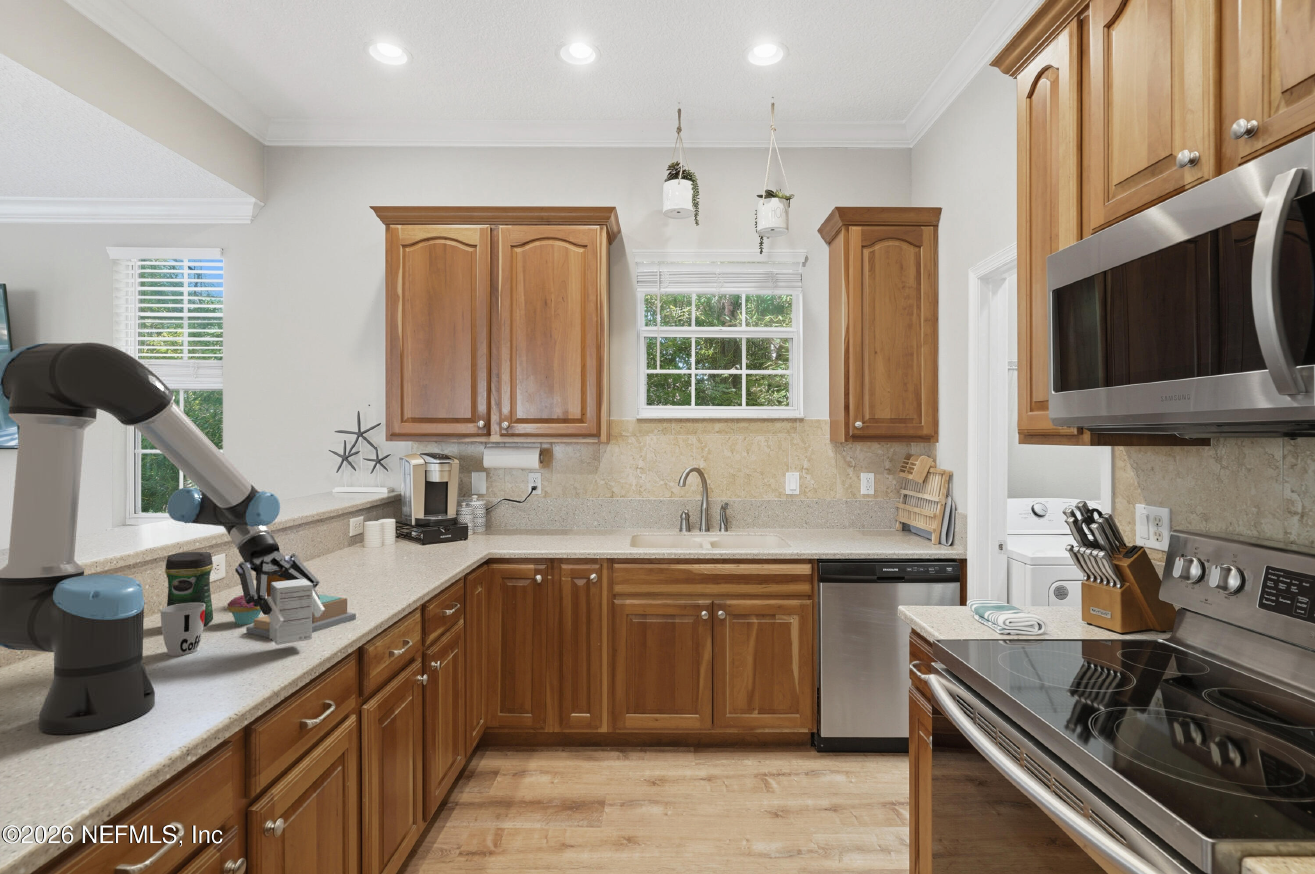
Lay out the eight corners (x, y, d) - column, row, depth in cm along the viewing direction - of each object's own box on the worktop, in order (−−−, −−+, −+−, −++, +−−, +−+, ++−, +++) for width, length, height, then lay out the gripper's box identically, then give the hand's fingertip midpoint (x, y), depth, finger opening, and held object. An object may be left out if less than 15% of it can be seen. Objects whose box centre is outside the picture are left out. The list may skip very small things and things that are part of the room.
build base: (285, 640, 153) (285, 616, 153) (246, 632, 159) (246, 609, 159) (355, 619, 171) (356, 597, 171) (318, 612, 177) (318, 591, 177)
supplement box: (268, 637, 147) (269, 581, 147) (305, 632, 152) (306, 577, 152) (275, 645, 142) (276, 587, 142) (312, 639, 146) (313, 583, 147)
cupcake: (262, 625, 166) (262, 577, 165) (222, 628, 162) (223, 580, 162) (268, 616, 173) (268, 571, 173) (231, 619, 170) (231, 573, 170)
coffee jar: (217, 620, 170) (218, 548, 170) (204, 628, 162) (204, 554, 162) (174, 622, 167) (175, 550, 167) (159, 631, 160) (159, 555, 160)
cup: (181, 659, 140) (181, 613, 140) (150, 656, 142) (150, 610, 142) (214, 647, 148) (214, 603, 148) (184, 645, 149) (184, 601, 149)
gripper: (290, 546, 163) (334, 617, 157) (198, 560, 143) (243, 642, 137) (305, 526, 161) (350, 597, 155) (214, 537, 141) (261, 619, 134)
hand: (300, 618), depth 146 cm, fingers closed on supplement box, 9 cm apart
